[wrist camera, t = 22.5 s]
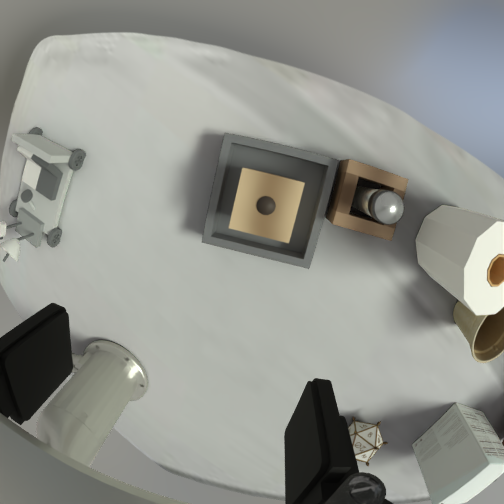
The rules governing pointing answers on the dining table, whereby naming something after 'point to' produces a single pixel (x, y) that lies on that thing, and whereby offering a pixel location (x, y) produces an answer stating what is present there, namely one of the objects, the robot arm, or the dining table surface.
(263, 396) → the dining table surface
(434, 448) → the supplement box
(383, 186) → the square wooden socket
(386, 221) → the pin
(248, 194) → the oak block
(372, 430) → the game die
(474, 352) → the flower pot
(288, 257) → the tray
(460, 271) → the toilet paper
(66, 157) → the toy car
